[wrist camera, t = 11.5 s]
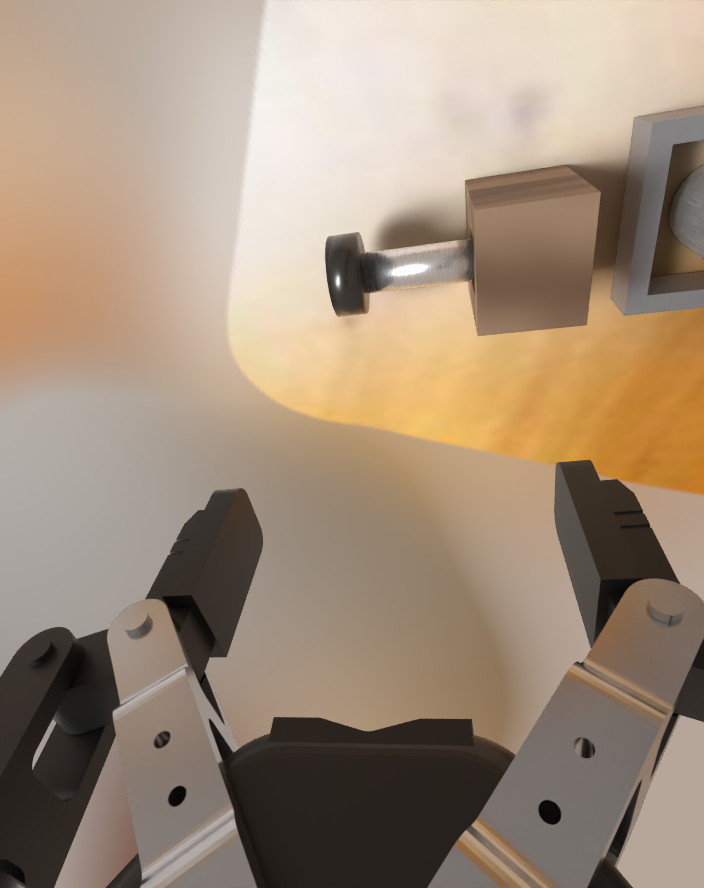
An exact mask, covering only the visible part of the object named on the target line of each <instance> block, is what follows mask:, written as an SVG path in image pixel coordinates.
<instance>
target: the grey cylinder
mask: <svg viewBox="0 0 704 888" xmlns="http://www.w3.org/2000/svg"><path fill="white" fill-rule="evenodd" d="M670 226H671V229H672V231H673V233H674V235H675V236H676V238H677V239H678V240H679V241H680V242H681V243H682V244H683V245H685V246H686V247H687V248H689V249H690V250H692V251H693V252H694V253H696V254H697V255H699V256H700V257H701V258H703V259H704V164H703V165H702V166H700V167H699V168H697V169H696V170H695V171H694V172H693V173H692V174H690V175H689V176H688V178H687V179H686V180H685V181H684V182H683V183H682V185H681V186H680V188H679V189H678V191H677V193H676V195H675V197H674V199H673V202H672V205H671V209H670Z"/></svg>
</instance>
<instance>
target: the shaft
mask: <svg viewBox="0 0 704 888" xmlns="http://www.w3.org/2000/svg"><path fill="white" fill-rule="evenodd" d="M325 261H326V274H327V282H328V288H329V293H330V298H331V302H332V305H333V308H334V311H335V313H336V315H337V316H339V317H340V316H349V315H358V314H367V313H368V311H369V293H375V292H384V291H392V290H400V289H409V288H417V287H425V286H434V285H442V284H450V283H459V282H467V281H475V274H474V238H470V239H462V240H455V241H447V242H440V243H433V244H425V245H418V246H410V247H403V248H396V249H388V250H381V251H373V252H366V253H365V250H364V245H363V241H362V238H361V235H360V233H359V232H356V233H349V234H342V235H335V236H329V237H328V238H327V241H326V248H325Z"/></svg>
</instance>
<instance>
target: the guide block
mask: <svg viewBox="0 0 704 888" xmlns="http://www.w3.org/2000/svg"><path fill="white" fill-rule="evenodd" d="M465 195H466V225H467V239H470V238H474V274H475V281H468V286H469V293H470V298H471V303H472V309H473V314H474V319H475V324H476V329H477V335H478V336H484V335H494V334H504V333H514V332H524V331H534V330H543V329H553V328H563V327H573V326H583V325H587V318H588V309H589V299H590V290H591V281H592V271H593V262H594V252H595V243H596V233H597V224H598V215H599V205H600V196H601V192H600V191H599V190H598V189H597V188H595V187H594V186H593V185H591V184H590V183H589V182H587V181H586V180H585V179H583V178H582V177H581V176H580V175H578V174H577V173H576V172H574V171H573V170H572V169H570V168H569V167H568V166H566V165H562V166H555V167H549V168H542V169H536V170H529V171H523V172H517V173H510V174H504V175H497V176H491V177H484V178H478V179H472V180H465Z"/></svg>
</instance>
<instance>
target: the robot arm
mask: <svg viewBox="0 0 704 888" xmlns="http://www.w3.org/2000/svg"><path fill="white" fill-rule="evenodd" d="M554 513H555V524H556V529H557V534H558V538H559V541H560V545H561V548H562V552H563V555H564V558H565V562H566V565H567V569H568V572H569V575H570V579H571V582H572V586H573V589H574V592H575V596H576V599H577V602H578V606H579V609H580V612H581V616H582V620H583V623H584V626H585V630H586V633H587V637H588V640H589V643H590V647H591V650H590V652H589V654H588V655H587V657H586V658H585V660H584V661H583V662H582V663H579V662H575V663H574V664H573V665H572V666H571V667H570V669H569V670H568V671H567V673H566V674H565V676H564V678H563V679H562V681H561V683H560V684H559V686H558V687H557V689H556V691H555V693H554V694H553V696H552V697H551V699H550V701H549V702H548V704H547V706H546V707H545V709H544V710H543V712H542V714H541V715H540V717H539V718H538V720H537V722H536V723H535V725H534V727H533V728H532V730H531V732H530V733H529V735H528V736H527V738H526V740H525V741H524V743H523V745H522V746H521V748H520V750H519V751H518V753H517V754H516V755H515V754H514V753H512V752H511V751H509V750H508V749H506V748H504V747H503V746H501V745H499V744H497V743H495V742H492V741H490V740H488V739H486V738H483V737H479V736H475V735H474V733H473V725H472V719H417V720H413V721H410V722H406V723H402V724H398V725H394V726H390V727H386V728H383V729H379V730H375V731H369V732H368V731H362V730H359V729H355V728H352V727H349V726H345V725H342V724H338V723H335V722H332V721H329V720H326V719H322V718H297V717H293V718H292V717H290V718H289V717H287V718H286V717H274V719H273V724H272V728H271V732H270V734H267V735H264V736H262V737H259V738H257V739H254V740H253V741H251V742H249V743H247V744H245V745H243V746H242V747H241V748H239V747H238V745H237V743H236V741H235V739H234V737H233V735H232V733H231V730H230V728H229V725H228V723H227V720H226V718H225V715H224V713H223V710H222V708H221V705H220V703H219V700H218V697H217V695H216V692H215V690H214V687H213V685H212V682H211V680H210V677H209V675H208V673H207V671H206V666H207V663H208V660H209V658H210V657H227V654H228V651H229V648H230V645H231V642H232V639H233V636H234V633H235V630H236V627H237V624H238V621H239V618H240V615H241V612H242V609H243V606H244V603H245V600H246V597H247V594H248V591H249V588H250V585H251V582H252V579H253V576H254V573H255V570H256V567H257V564H258V561H259V558H260V555H261V552H262V546H263V535H262V530H261V527H260V525H259V522H258V519H257V517H256V514H255V512H254V510H253V507H252V505H251V502H250V500H249V497H248V495H247V493H246V491H245V490H244V489H242V488H239V489H227V490H216V491H214V493H213V494H212V496H211V498H210V500H209V502H208V504H207V506H206V508H205V510H198V511H197V512H196V513H195V514H194V515H193V516H192V517H191V518H190V519H189V520H188V521H187V522H186V523H185V524H184V526H183V528H182V530H181V532H180V534H179V535H178V537H177V542H176V543H174V545H173V547H172V549H171V551H170V555H168V557H167V558H166V560H165V563H164V564H163V566H162V568H161V570H160V572H159V574H158V576H157V578H156V580H155V582H154V583H153V585H152V587H151V589H150V591H149V593H148V595H147V597H146V599H145V600H142V601H139V602H136V603H134V604H132V605H130V606H129V607H127V608H126V609H125V610H123V611H122V612H121V613H120V614H119V615H118V616H117V617H116V618H115V619H114V621H113V622H112V624H111V626H110V627H109V629H106V630H103V631H100V632H97V633H94V634H91V635H88V636H85V637H82V638H79V639H76V638H75V636H74V635H73V634H72V633H71V632H70V631H69V630H68V629H66V628H63V627H55V628H51V629H47V630H45V631H42V632H40V633H38V634H37V635H35V636H34V637H32V638H31V639H29V640H28V641H27V642H26V643H25V644H24V645H22V647H21V648H20V649H19V650H18V651H17V652H16V654H15V655H14V656H13V658H12V660H11V661H10V663H9V664H8V666H7V667H6V669H5V670H4V672H3V674H2V675H1V677H0V888H54V886H55V884H56V881H57V879H58V876H59V874H60V871H61V869H62V867H63V864H64V862H65V859H66V857H67V854H68V852H69V849H70V847H71V844H72V842H73V840H74V837H75V835H76V832H77V830H78V827H79V825H80V822H81V820H82V817H83V815H84V812H85V810H86V808H87V805H88V803H89V800H90V798H91V795H92V793H93V790H94V788H95V785H96V783H97V780H98V778H99V776H100V773H101V770H102V768H103V766H104V763H105V761H106V758H107V756H108V754H109V751H110V749H111V746H112V744H113V741H114V739H115V736H116V737H117V742H118V748H119V753H120V758H121V763H122V769H123V774H124V780H125V785H126V790H127V795H128V800H129V806H130V811H131V817H132V821H133V827H134V832H135V837H136V843H137V848H138V854H137V855H136V856H135V857H134V858H133V859H132V860H131V861H130V862H129V863H128V864H127V865H126V866H125V868H124V869H123V870H122V871H121V872H120V873H119V874H118V875H117V876H116V877H115V878H114V879H113V880H112V882H111V883H110V884H109V885H108V886H107V887H106V888H633V887H632V886H631V885H630V884H629V883H628V881H627V880H626V879H625V878H624V877H623V876H622V874H621V873H620V872H619V871H618V870H617V865H618V863H619V861H620V858H621V856H622V853H623V851H624V849H625V847H626V844H627V842H628V840H629V837H630V835H631V833H632V830H633V828H634V826H635V823H636V821H637V818H638V816H639V813H640V811H641V808H642V805H643V803H644V800H645V797H646V794H647V792H648V789H649V787H650V785H651V782H652V780H653V777H654V775H655V773H656V771H657V768H658V766H659V764H660V761H661V759H662V757H663V755H664V752H665V750H666V748H667V745H668V743H669V741H670V738H671V736H672V734H673V732H674V729H675V727H676V725H677V722H678V720H679V718H680V716H681V715H682V716H686V717H689V718H693V719H696V720H700V721H703V722H704V602H703V600H702V599H701V598H700V597H699V596H698V595H697V594H695V593H694V592H693V591H691V590H690V589H688V588H687V587H685V586H683V585H681V584H680V582H679V581H678V579H677V578H676V576H675V573H674V571H673V570H672V567H671V565H670V564H669V561H668V560H667V558H666V556H665V553H664V551H663V550H662V548H661V546H660V544H659V542H658V540H657V538H656V536H655V534H654V532H653V530H652V528H650V524H649V522H648V520H647V518H646V516H645V514H643V510H642V508H641V506H640V504H639V502H638V500H637V498H636V496H635V494H634V493H633V492H632V491H631V490H629V489H628V488H627V487H626V486H625V485H623V484H622V483H621V482H620V481H618V480H617V479H615V480H603V481H600V479H599V477H598V475H597V472H596V470H595V468H594V465H593V463H592V462H591V460H582V461H570V462H558V463H557V464H556V474H555V506H554ZM52 719H54V720H55V722H56V725H55V727H54V729H53V731H52V733H51V735H50V737H49V739H48V741H47V743H46V745H45V747H44V749H43V751H42V752H41V754H40V756H39V758H38V760H37V762H36V764H35V766H34V768H33V770H32V761H33V757H34V754H35V752H36V750H37V748H38V746H39V744H40V742H41V740H42V738H43V736H44V734H45V732H46V730H47V728H48V726H49V724H50V723H51V721H52Z"/></svg>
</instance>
